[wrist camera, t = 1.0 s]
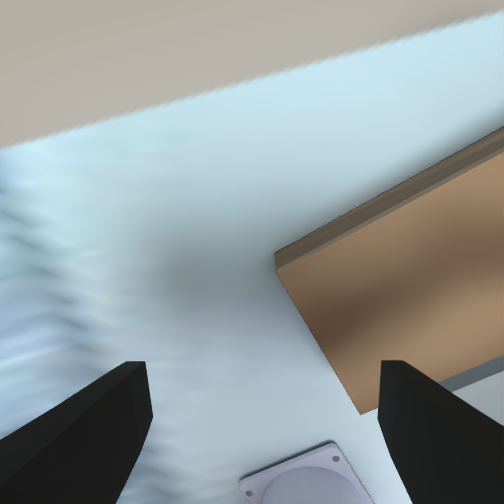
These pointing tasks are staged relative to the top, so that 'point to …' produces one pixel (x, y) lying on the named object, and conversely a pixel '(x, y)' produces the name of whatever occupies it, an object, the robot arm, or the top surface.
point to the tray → (481, 388)
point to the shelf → (409, 275)
